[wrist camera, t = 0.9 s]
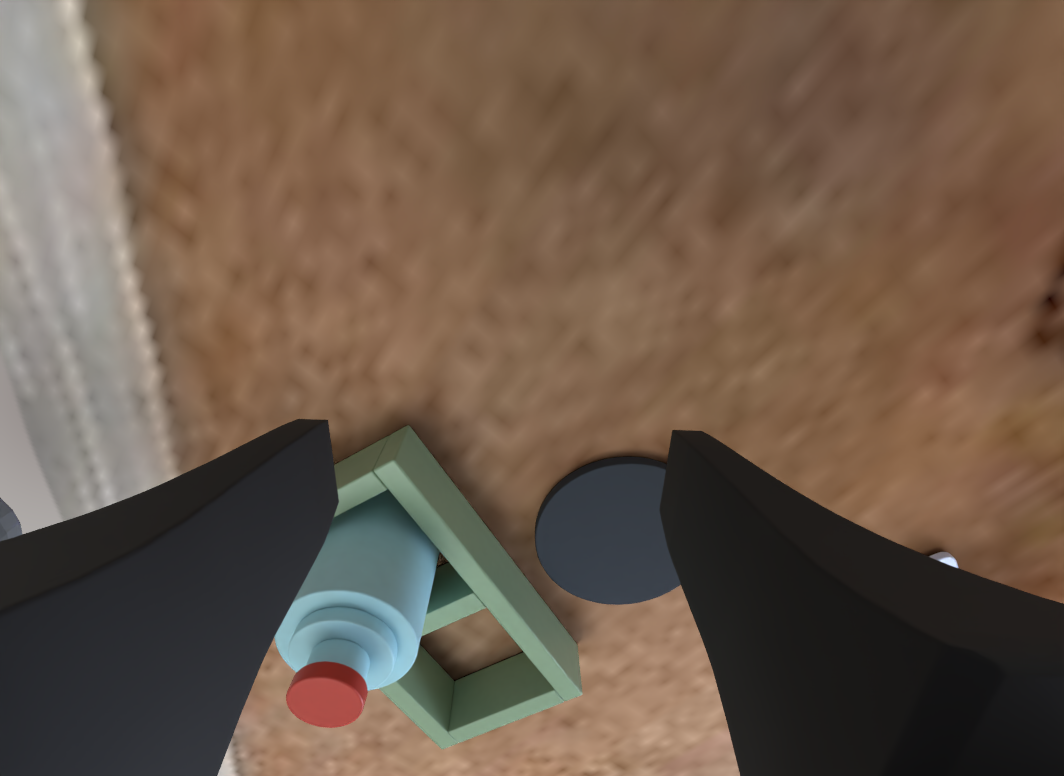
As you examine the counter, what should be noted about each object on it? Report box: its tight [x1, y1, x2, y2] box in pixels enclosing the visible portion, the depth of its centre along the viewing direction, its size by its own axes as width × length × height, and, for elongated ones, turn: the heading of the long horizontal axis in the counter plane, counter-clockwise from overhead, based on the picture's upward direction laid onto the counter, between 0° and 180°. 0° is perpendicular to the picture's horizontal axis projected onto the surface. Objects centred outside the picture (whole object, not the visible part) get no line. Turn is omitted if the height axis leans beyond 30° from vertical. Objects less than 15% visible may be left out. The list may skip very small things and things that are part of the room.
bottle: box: [275, 489, 440, 728], centre depth 20 cm, size 5×5×8 cm
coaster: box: [535, 457, 681, 605], centre depth 24 cm, size 8×8×1 cm
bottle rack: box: [334, 425, 582, 749], centre depth 24 cm, size 8×15×3 cm, turn 30°
